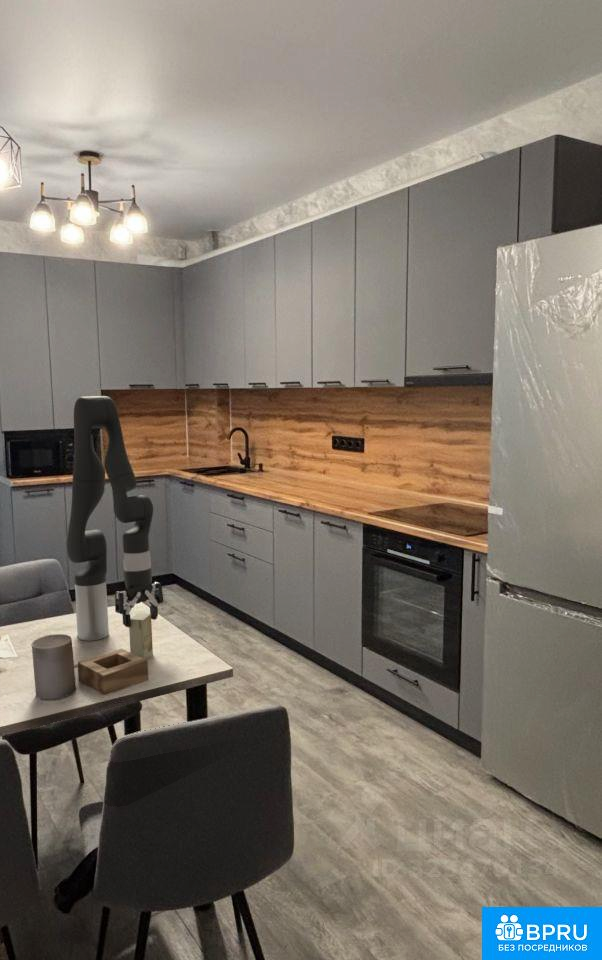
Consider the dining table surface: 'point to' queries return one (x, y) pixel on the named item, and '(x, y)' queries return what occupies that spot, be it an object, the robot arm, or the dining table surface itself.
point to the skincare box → (141, 635)
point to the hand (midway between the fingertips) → (140, 622)
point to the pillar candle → (53, 666)
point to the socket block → (112, 671)
